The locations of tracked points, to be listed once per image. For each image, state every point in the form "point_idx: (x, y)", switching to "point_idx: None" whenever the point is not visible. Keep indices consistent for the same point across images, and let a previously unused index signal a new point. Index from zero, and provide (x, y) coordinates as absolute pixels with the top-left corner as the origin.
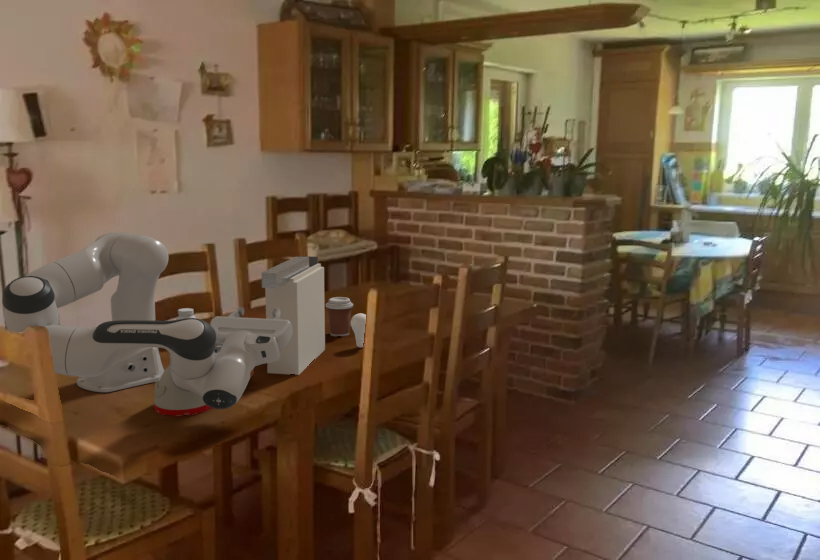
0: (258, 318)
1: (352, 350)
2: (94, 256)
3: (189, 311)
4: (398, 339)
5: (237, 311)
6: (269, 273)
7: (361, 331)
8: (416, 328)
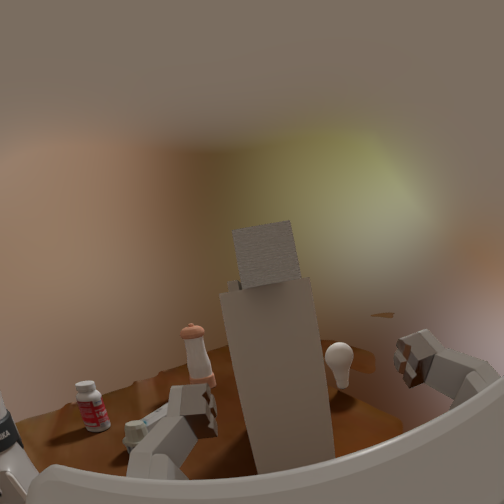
0: (407, 435)
1: (340, 396)
2: None
3: (88, 385)
4: (363, 364)
5: (180, 418)
6: (263, 226)
7: (347, 366)
8: (354, 350)
